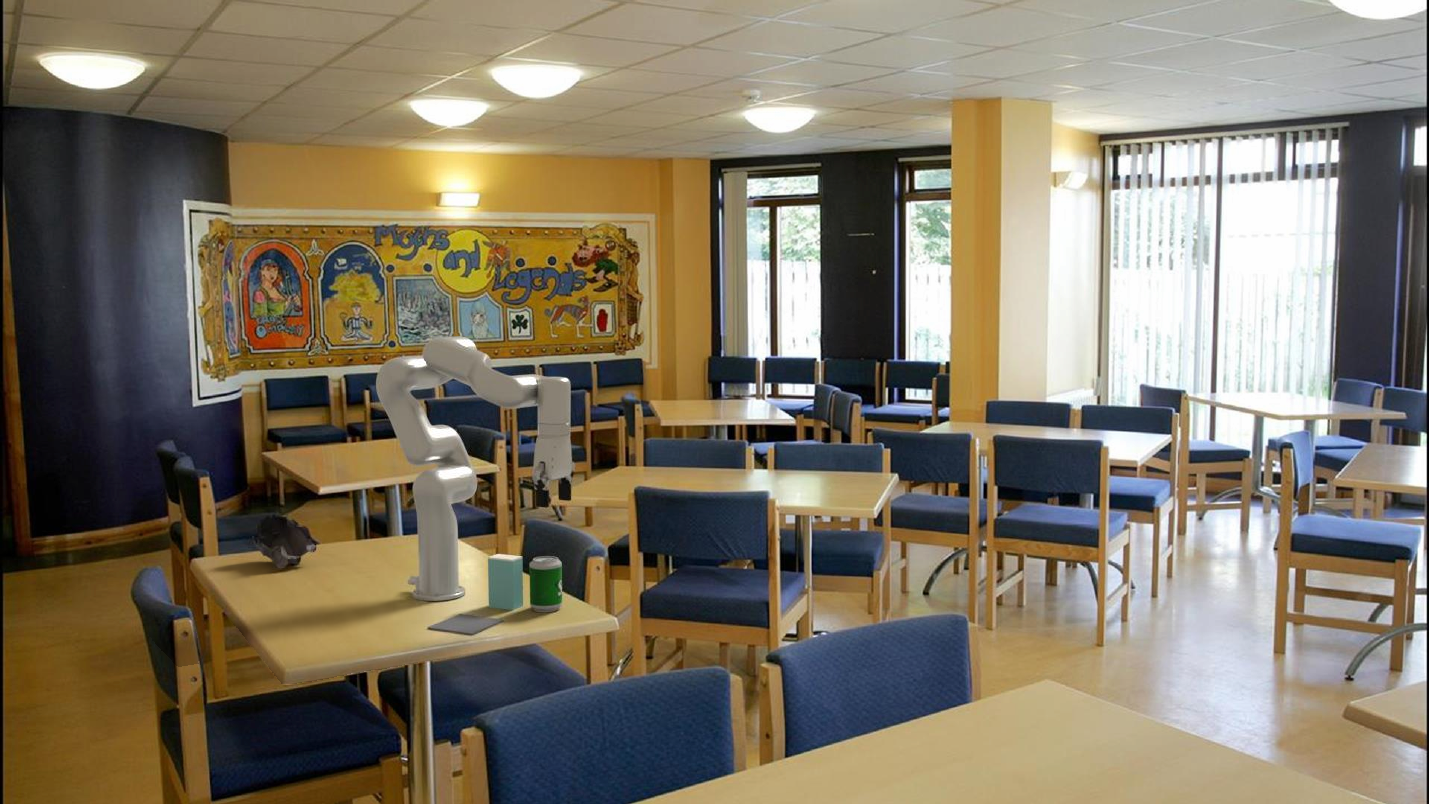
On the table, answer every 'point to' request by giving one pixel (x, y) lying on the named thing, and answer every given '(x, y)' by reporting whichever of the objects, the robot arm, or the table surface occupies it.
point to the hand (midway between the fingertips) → (553, 503)
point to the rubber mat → (466, 624)
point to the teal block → (505, 581)
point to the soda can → (545, 584)
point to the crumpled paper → (283, 540)
